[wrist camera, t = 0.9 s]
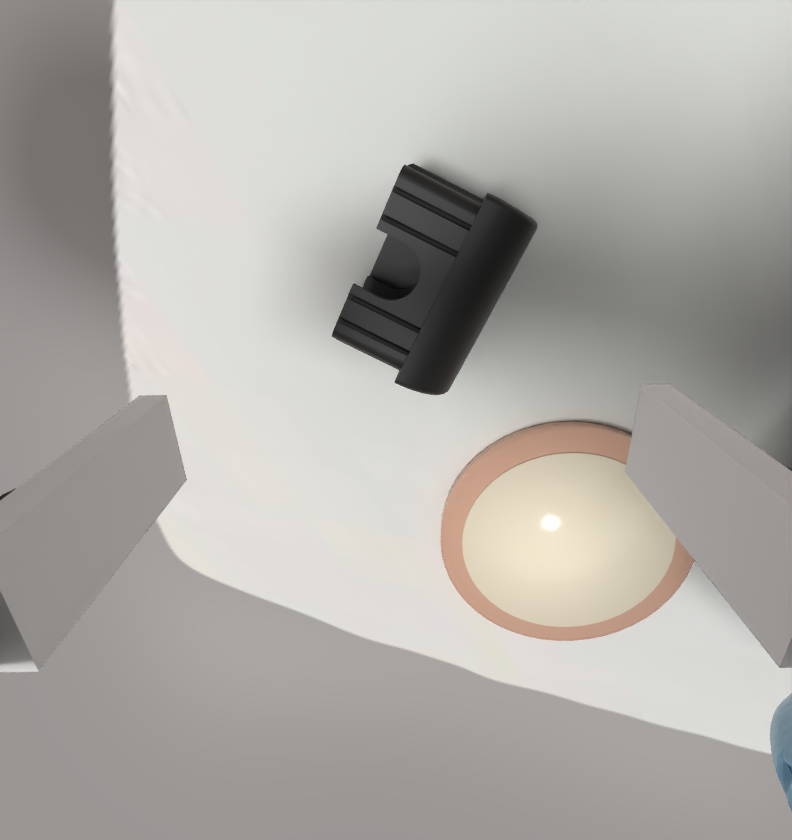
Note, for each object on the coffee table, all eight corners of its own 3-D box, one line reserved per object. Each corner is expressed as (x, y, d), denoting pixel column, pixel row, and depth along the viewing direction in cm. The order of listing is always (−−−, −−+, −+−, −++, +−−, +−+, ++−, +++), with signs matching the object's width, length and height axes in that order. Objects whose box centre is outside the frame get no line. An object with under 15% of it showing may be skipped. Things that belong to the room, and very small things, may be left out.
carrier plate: (734, 456, 32) (749, 468, 30) (631, 648, 38) (638, 666, 37) (477, 394, 32) (478, 402, 31) (417, 594, 39) (416, 609, 37)
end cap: (448, 374, 32) (446, 409, 26) (349, 325, 32) (323, 349, 25) (528, 224, 28) (549, 223, 22) (418, 167, 28) (406, 150, 22)
